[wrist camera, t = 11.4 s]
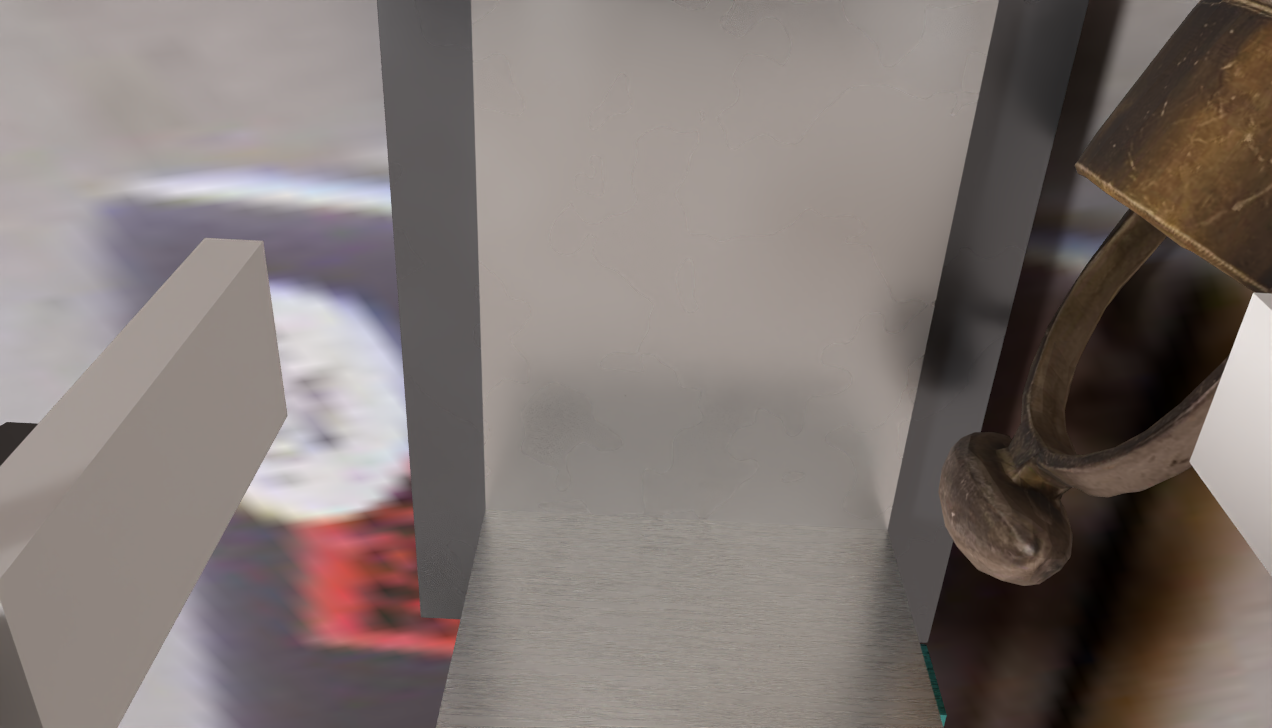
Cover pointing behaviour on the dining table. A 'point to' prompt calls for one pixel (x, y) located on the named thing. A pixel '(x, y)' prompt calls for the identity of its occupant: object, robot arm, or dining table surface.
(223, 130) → the dining table surface
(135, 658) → the robot arm
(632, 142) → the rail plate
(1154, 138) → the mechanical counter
